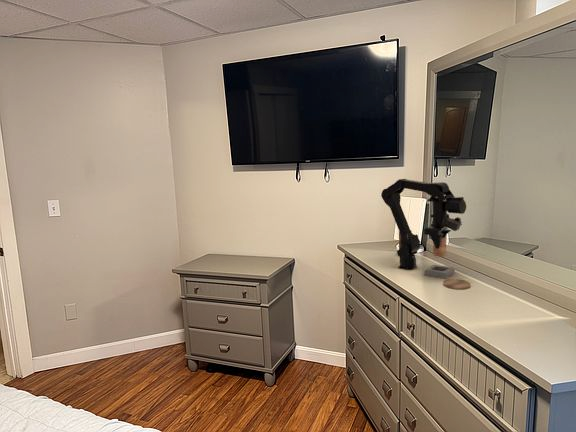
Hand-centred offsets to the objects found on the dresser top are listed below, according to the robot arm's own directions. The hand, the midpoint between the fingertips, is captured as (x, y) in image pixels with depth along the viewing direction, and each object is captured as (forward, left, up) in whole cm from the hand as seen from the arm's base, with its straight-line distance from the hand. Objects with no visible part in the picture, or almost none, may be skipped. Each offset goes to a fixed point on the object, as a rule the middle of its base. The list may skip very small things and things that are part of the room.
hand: (439, 247), depth 168 cm
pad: (+11, -10, -12) cm, 19 cm away
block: (0, 0, -4) cm, 4 cm away
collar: (0, 0, -12) cm, 12 cm away
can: (-26, +20, -12) cm, 35 cm away
